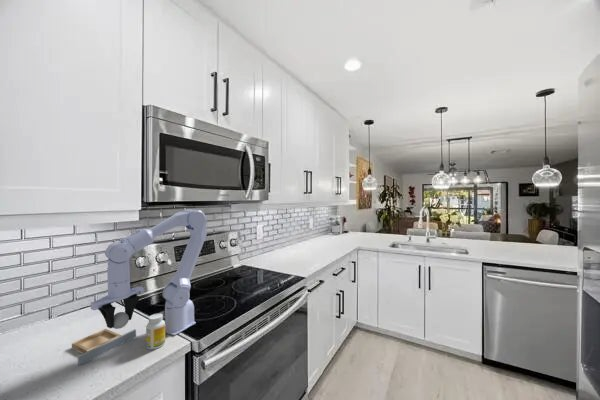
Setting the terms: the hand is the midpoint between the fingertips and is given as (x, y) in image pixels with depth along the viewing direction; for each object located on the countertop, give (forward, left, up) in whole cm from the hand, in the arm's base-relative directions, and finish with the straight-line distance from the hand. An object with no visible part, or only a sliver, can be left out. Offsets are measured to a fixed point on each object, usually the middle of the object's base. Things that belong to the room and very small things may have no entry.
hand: (119, 323), depth 80 cm
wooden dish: (+2, -10, -9) cm, 13 cm away
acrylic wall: (+2, -3, -9) cm, 9 cm away
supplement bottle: (-6, +8, -9) cm, 14 cm away
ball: (0, 0, -2) cm, 2 cm away
